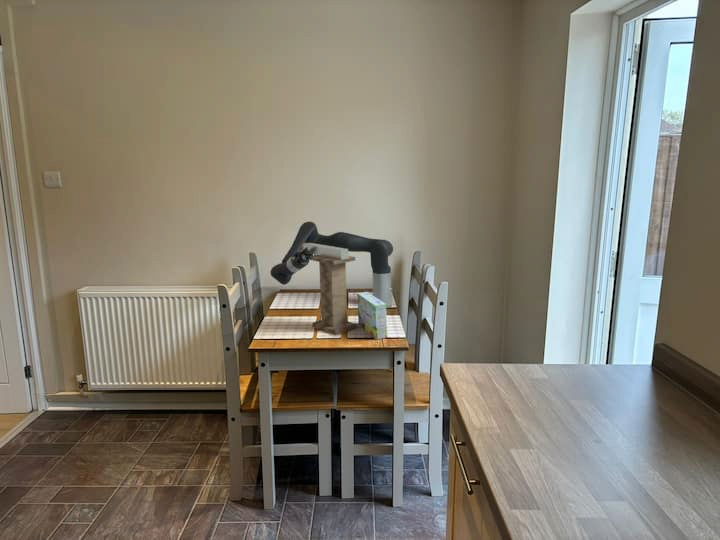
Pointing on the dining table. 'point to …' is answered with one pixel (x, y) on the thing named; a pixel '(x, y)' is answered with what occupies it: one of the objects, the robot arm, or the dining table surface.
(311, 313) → the dining table surface
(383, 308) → the snack box
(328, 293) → the stand
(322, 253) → the bar
